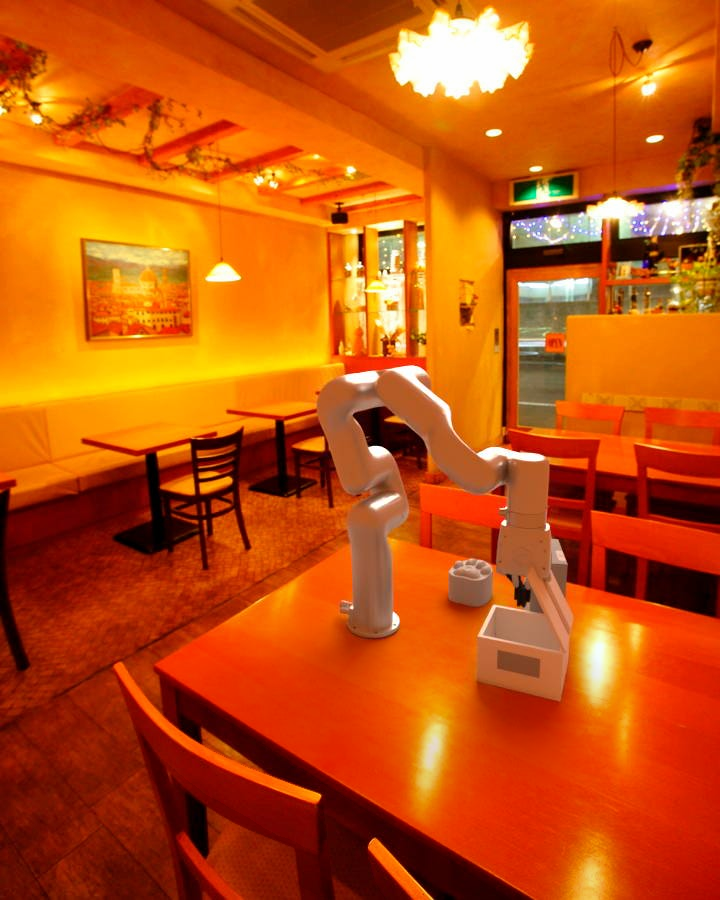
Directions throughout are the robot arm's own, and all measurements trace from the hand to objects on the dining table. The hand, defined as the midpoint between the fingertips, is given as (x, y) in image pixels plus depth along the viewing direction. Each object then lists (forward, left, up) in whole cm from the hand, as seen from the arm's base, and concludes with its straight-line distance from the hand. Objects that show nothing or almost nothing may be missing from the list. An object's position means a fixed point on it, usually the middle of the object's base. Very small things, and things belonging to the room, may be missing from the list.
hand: (522, 603), depth 115 cm
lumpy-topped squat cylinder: (-18, +30, -15) cm, 38 cm away
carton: (+1, 0, -15) cm, 15 cm away
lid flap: (+5, 0, +2) cm, 6 cm away
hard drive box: (+2, +18, -15) cm, 24 cm away
